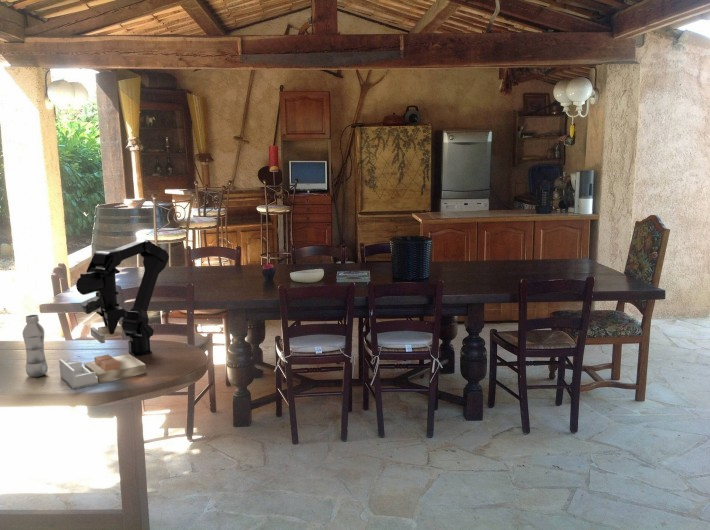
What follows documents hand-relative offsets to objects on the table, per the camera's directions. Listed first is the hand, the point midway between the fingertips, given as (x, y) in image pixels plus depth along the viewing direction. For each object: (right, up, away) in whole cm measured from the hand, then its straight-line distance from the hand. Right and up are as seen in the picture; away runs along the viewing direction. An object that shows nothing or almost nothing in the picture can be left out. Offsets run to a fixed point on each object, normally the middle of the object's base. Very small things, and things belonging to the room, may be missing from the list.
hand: (110, 333), depth 217 cm
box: (-5, -14, -14) cm, 20 cm away
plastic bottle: (-20, -13, -9) cm, 26 cm away
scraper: (0, -1, 0) cm, 1 cm away
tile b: (+4, -10, -10) cm, 15 cm away
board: (+4, -12, -6) cm, 14 cm away
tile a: (0, -9, -6) cm, 11 cm away
